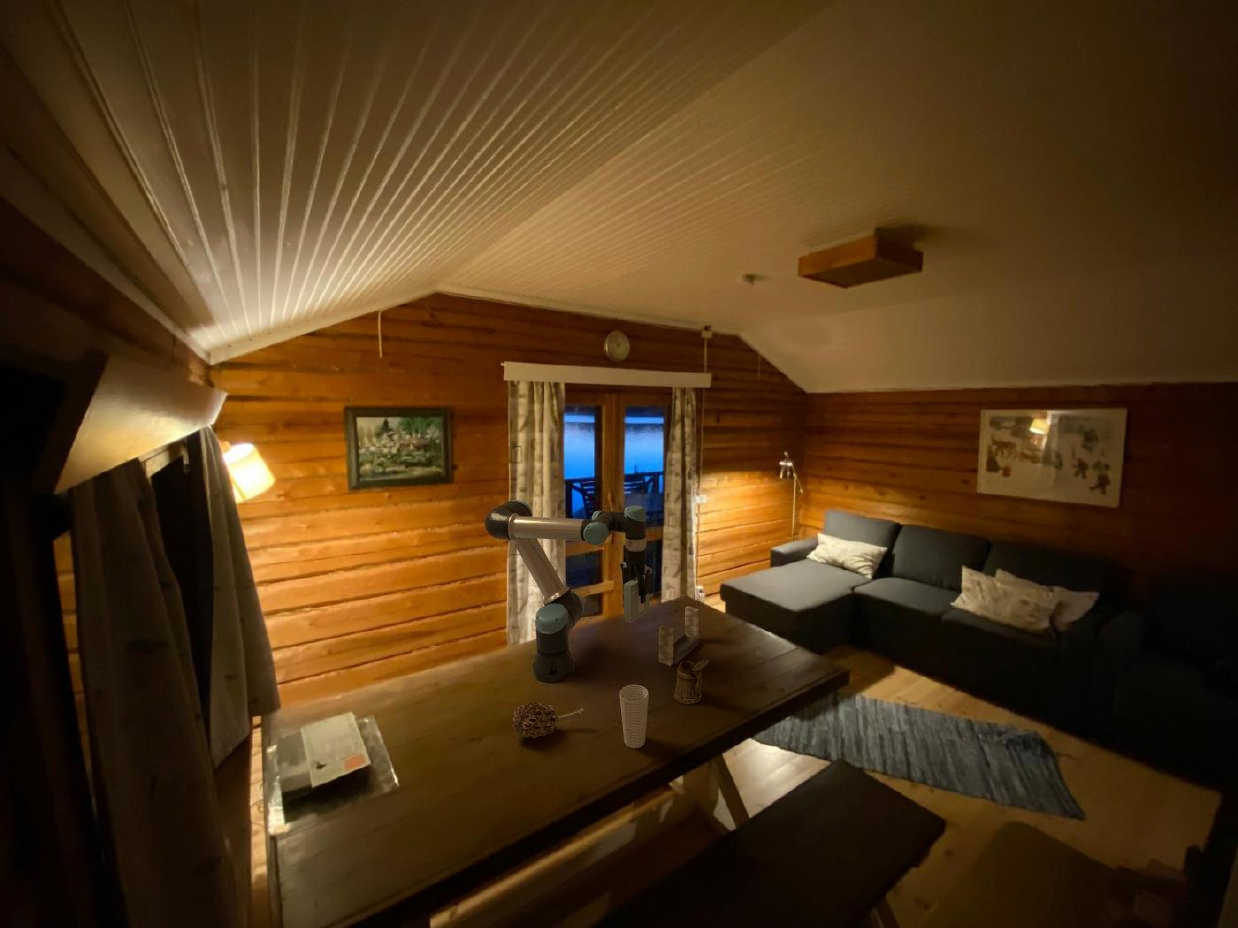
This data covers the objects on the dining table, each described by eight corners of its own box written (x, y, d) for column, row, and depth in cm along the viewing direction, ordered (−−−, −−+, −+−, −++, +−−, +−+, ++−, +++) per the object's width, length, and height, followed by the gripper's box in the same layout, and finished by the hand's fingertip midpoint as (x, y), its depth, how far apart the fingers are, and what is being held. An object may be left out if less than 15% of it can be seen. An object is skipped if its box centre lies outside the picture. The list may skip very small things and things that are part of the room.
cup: (614, 741, 149) (613, 692, 147) (634, 727, 155) (633, 680, 153) (635, 756, 143) (634, 705, 141) (655, 741, 149) (655, 692, 147)
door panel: (624, 621, 186) (623, 584, 184) (642, 609, 195) (642, 574, 193) (631, 623, 184) (630, 586, 182) (649, 611, 193) (649, 575, 191)
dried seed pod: (515, 751, 146) (513, 719, 144) (510, 730, 155) (509, 700, 153) (589, 733, 153) (588, 702, 151) (581, 714, 162) (580, 685, 160)
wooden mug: (694, 715, 160) (694, 662, 157) (668, 693, 172) (668, 643, 169) (715, 706, 165) (716, 654, 162) (689, 685, 176) (690, 637, 173)
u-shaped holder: (656, 660, 192) (655, 626, 190) (684, 637, 210) (684, 605, 208) (673, 667, 188) (673, 631, 186) (701, 642, 205) (701, 609, 203)
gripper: (612, 547, 187) (613, 607, 191) (648, 555, 178) (649, 618, 181) (624, 542, 193) (625, 601, 197) (660, 549, 184) (660, 611, 187)
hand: (637, 609), depth 189 cm, fingers closed on door panel, 3 cm apart
